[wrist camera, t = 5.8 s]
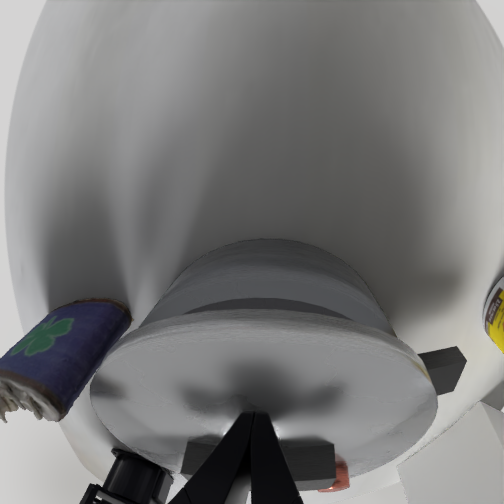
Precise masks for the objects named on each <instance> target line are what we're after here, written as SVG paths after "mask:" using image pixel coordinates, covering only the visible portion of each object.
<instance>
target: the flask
mask: <svg viewBox="0 0 504 504" xmlns="http://www.w3.org/2000/svg"><path fill="white" fill-rule="evenodd" d="M132 321H134V320H133V319H132V317H131V315H130V312H129V310H128V308H127V307H126V306H125V305H124V304H123V303H122V302H119V301H117V300H115V299H113V300H112V299H109V298H99V299H98V298H91V299H83V300H80V301H79V300H77V301H75V302H73V303H70V304H68V305H64V306H63V307H59V308H57V309H55V310H54V311H52V312H51V313H50V314H48V315H47V316H46V317H45V318H44V319H43V320H42V321H41V322H40V323H39V324H37V325H36V326H35V327H34V328H33V329H32V330H31V331H30V332H29V333H28V334H27V335H25V336H24V337H23V338H22V339H21V340H20V341H19V342H17V343H16V344H15V345H14V346H13V347H12V348H11V349H10V350H9V351H8V352H7V353H6V354H5V355H4V356H3V357H2V358H0V419H2V420H3V421H4V422H5V423H7V421H6V419H5V412H6V411H9V412H12V411H15V410H16V411H17V410H18V408H19V407H21V408H22V409H24V410H26V409H28V410H29V411H31V412H34V415H35V416H36V418H37V419H38V420H41V419H42V418H43V417H44V418H45V419H47V420H48V421H55V422H59V421H60V420H61V419H63V418H64V417H65V416H66V415H67V414H68V412H69V410H70V408H71V407H72V406H73V402H74V401H75V400H76V399H77V398H78V397H79V395H80V393H81V392H82V390H83V389H84V387H85V385H86V384H87V383H88V381H89V380H90V379H91V377H92V375H93V374H94V373H95V372H96V370H97V368H98V367H99V366H100V365H101V363H102V361H103V359H104V357H105V356H106V354H107V352H108V351H109V350H110V349H111V347H112V346H113V345H114V344H115V343H116V342H117V341H118V340H119V338H120V337H121V336H122V335H123V334H124V332H125V331H126V330H127V329H128V328H129V327H130V325H131V322H132ZM18 406H19V407H18Z"/></svg>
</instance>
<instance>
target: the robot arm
mask: <svg viewBox="0 0 504 504" xmlns="http://www.w3.org/2000/svg"><path fill="white" fill-rule="evenodd" d="M111 452H112V453H113V455H114V456H115V457H116V459H115V461H114V463H113V466H112V468H111V470H110V472H109V474H108V476H107V478H106V480H105V482H104V485H103V487H101V486H100V485H98V484H96V485H94V484H91V483H90V484H89V486H88V488H87V490H86V492H85V494H84V496H83V498H82V500H81V502H80V504H165V502H166V499H167V496H168V493H169V490H170V486H171V484H173V482H174V481H173V480H172V478H171V477H170V476H169V474H168V473H167V472H166V470H165V469H164V467H162V466H160V465H158V464H156V463H154V462H152V461H150V460H148V459H146V458H144V457H142V456H139V455H135V454H131V453H127V452H124V451H120V450H117V449H114V448H113V449H112V450H111ZM250 483H251V504H304V503H303V501H302V498H301V496H300V494H299V491H298V489H297V486H296V484H295V481H294V479H293V476H292V474H291V471H290V469H289V466H288V464H287V461H286V458H285V456H284V453H283V451H282V448H281V445H280V443H279V440H278V437H277V435H276V432H275V429H274V427H273V424H272V421H271V418H270V416H269V413H267V412H257V413H255V414H254V412H241V413H240V414H239V416H238V417H237V419H236V420H235V421H234V423H233V424H232V425H231V427H230V428H229V430H228V431H227V432H226V434H225V435H224V436H223V438H222V439H221V440H220V442H219V443H218V444H217V445H216V447H215V448H214V449H213V451H212V452H211V453H210V455H209V456H208V457H207V458H206V460H205V461H204V462H203V463H202V465H201V466H200V467H199V468H198V470H197V471H196V472H195V473H194V474H193V476H192V477H191V478H190V479H189V481H188V482H187V483H186V484H185V485H184V488H182V489H181V490H180V491H179V492H178V493H177V494H176V496H175V497H174V498H173V499H172V500H171V501H170V502H169V503H168V504H246V500H247V496H248V492H249V488H250ZM96 496H98V497H100V498H102V500H99V499H97V498H95V497H96Z"/></svg>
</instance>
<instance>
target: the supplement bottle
mask: <svg viewBox="0 0 504 504" xmlns="http://www.w3.org/2000/svg"><path fill="white" fill-rule="evenodd" d="M483 326H484V329H485V332H486V333H487V334H488V336H489V337H490V338H491V339H492V341H493V342H494V343H495V344H496V345H497V346H498V348H499V349H500V350H501V351H502V352H503V354H504V277H502V278H501V279H500V281H499V282H498V283H497V284H496V285H495V287H494V288H493V290H492V291H491V293H490V295H489V297H488V299H487V302H486V305H485V308H484V312H483Z"/></svg>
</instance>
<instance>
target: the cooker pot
mask: <svg viewBox="0 0 504 504" xmlns="http://www.w3.org/2000/svg"><path fill="white" fill-rule="evenodd" d="M235 309H265V310H288V311H297V312H306V313H317V314H322V315H327V316H332V317H337V318H342V319H347V320H352V321H355V322H358V323H361V324H364V325H367V326H371V327H374V328H377V329H379V330H381V331H383V332H385V333H388V334H390V335H392V336H394V337H396V338H397V336H396V334H395V332H394V331H393V329H392V327H391V325H390V323H389V322H388V320H387V318H386V316H385V315H384V313H383V311H382V310H381V308H380V306H379V304H378V303H377V301H376V299H375V298H374V296H373V294H372V293H371V291H370V290H369V288H368V286H367V285H366V283H365V282H364V281H363V279H362V278H361V277H360V276H359V275H358V274H357V273H356V272H355V271H354V270H353V269H352V268H351V267H350V266H348V265H347V264H346V263H345V262H343V261H342V260H340V259H339V258H337V257H335V256H334V255H332V254H330V253H328V252H326V251H324V250H321V249H319V248H317V247H314V246H311V245H307V244H304V243H300V242H296V241H289V240H282V239H257V240H248V241H242V242H238V243H234V244H230V245H226V246H224V247H221V248H219V249H216V250H214V251H211V252H210V253H208V254H206V255H204V256H203V257H201V258H199V259H197V260H196V261H195V262H194V263H192V264H191V265H190V266H189V267H187V268H186V269H185V270H184V271H183V272H182V273H181V274H180V275H179V277H178V278H177V279H176V280H175V281H174V283H173V284H172V285H171V286H170V288H169V289H168V290H167V291H166V293H165V294H164V295H163V296H162V298H161V299H160V300H159V302H158V303H157V304H156V305H155V307H154V308H153V309H152V311H151V312H150V313H149V315H148V316H147V317H146V318H145V320H144V321H143V322H142V324H141V325H140V326H139V328H140V327H143V326H145V325H147V324H149V323H152V322H156V321H160V320H163V319H167V318H170V317H174V316H179V315H186V314H192V313H198V312H205V311H218V310H235ZM417 355H418V356H419V357H420V358H421V359H422V361H423V363H424V365H425V367H426V369H427V371H428V374H429V376H430V379H431V381H432V384H433V387H434V389H435V392H436V395H437V396H438V395H442V394H445V393H449V392H452V391H454V389H455V387H456V385H457V382H458V380H459V378H460V376H461V373H462V371H463V369H464V367H465V364H466V362H467V360H466V358H465V357H464V356H463V354H462V353H461V351H460V350H459V349H458V347H457V346H455V347H450V348H446V349H441V350H436V351H431V352H426V353H421V354H417Z"/></svg>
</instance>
